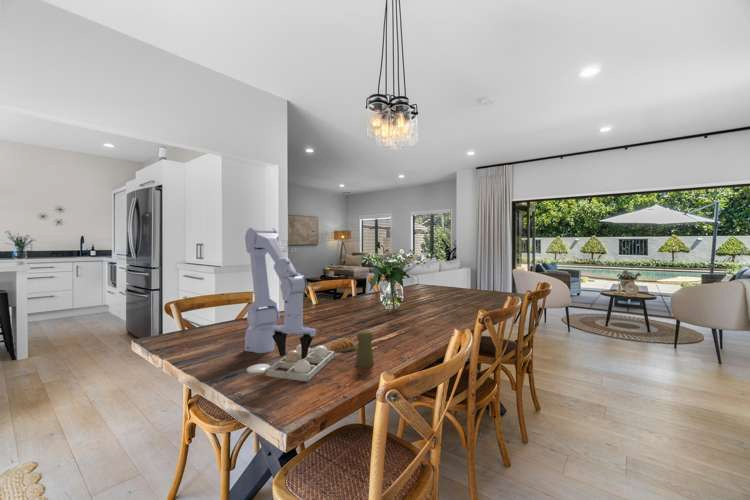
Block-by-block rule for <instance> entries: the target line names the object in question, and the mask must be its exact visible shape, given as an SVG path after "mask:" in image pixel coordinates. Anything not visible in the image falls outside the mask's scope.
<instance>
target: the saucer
mask: <svg viewBox="0 0 750 500" xmlns="http://www.w3.org/2000/svg"><path fill="white" fill-rule="evenodd" d="M270 366H271V365H270V364H267V363H258V364H257V363H256V364H253V365H251V366H248V367H247V369H246V372H248V373H251V374H261V373H265V369H267V368H268V367H270Z"/></svg>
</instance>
